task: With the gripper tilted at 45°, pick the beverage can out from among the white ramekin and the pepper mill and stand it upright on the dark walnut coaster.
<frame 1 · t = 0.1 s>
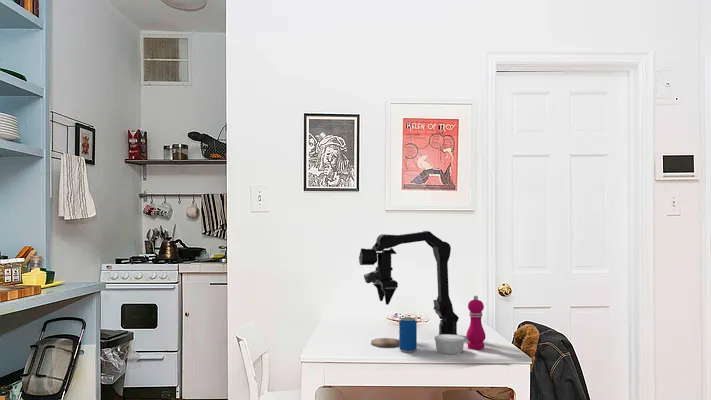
hand: (384, 302, 232), 15 cm above the table, tool pointing down, fingers open, 9 cm apart
beverage can: (407, 351, 211), on the table
ramekin: (449, 352, 211), on the table
walnut coaster: (386, 344, 222), on the table
pepper mill: (475, 348, 216), on the table
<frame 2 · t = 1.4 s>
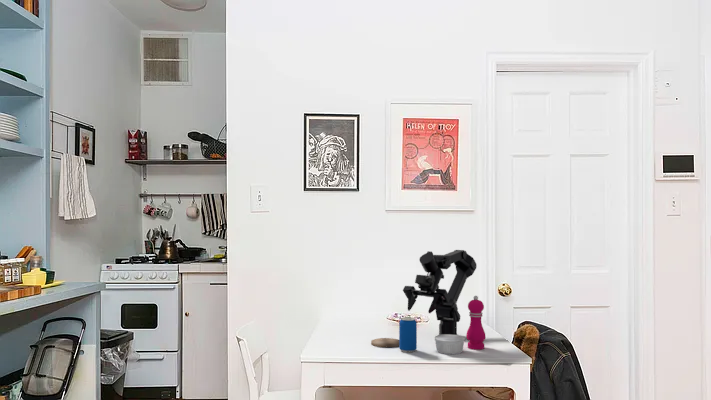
hand: (418, 311, 218), 14 cm above the table, tool tilted 45°, fingers open, 9 cm apart
nothing on the table moved.
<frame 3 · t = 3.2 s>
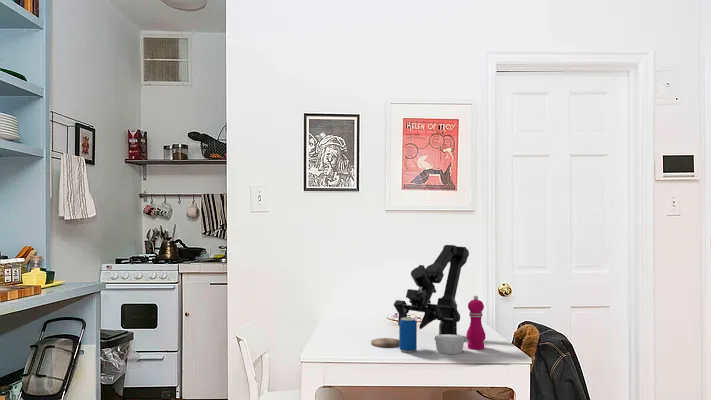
hand: (409, 327, 212), 9 cm above the table, tool tilted 45°, fingers open, 9 cm apart
nothing on the table moved.
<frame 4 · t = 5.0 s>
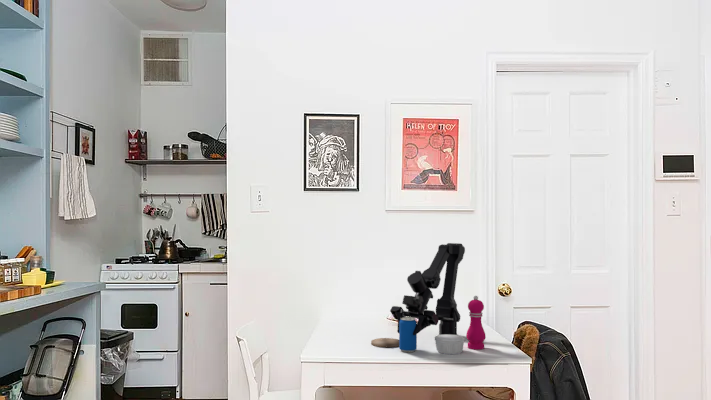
hand: (405, 333, 210), 7 cm above the table, tool tilted 45°, fingers closed on beverage can, 6 cm apart
beverage can: (407, 351, 211), on the table, touching gripper
everything else where it was.
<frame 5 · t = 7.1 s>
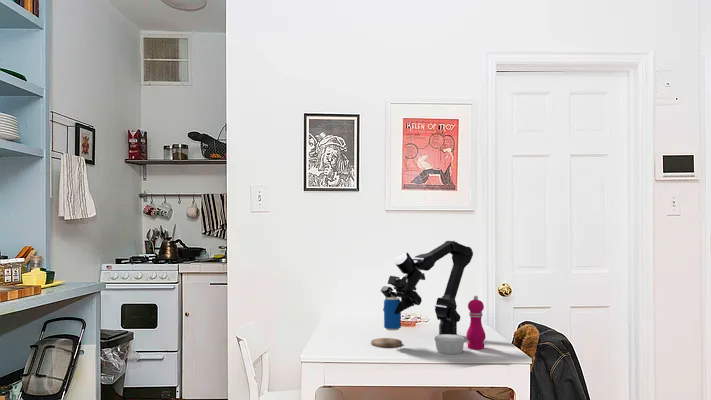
hand: (389, 312, 218), 13 cm above the table, tool tilted 45°, fingers closed on beverage can, 6 cm apart
beverage can: (392, 329, 219), point 6 cm above the table, touching gripper
everything else where it was.
when the fingers open (9 cm above the table, at t = 9.5 s): beverage can drops 1 cm, resting on walnut coaster.
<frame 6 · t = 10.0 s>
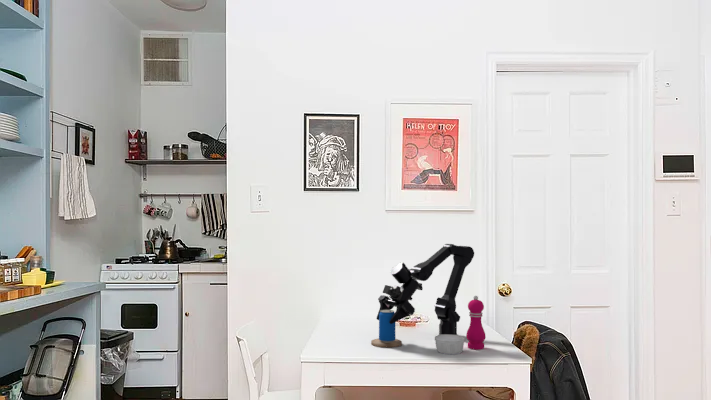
hand: (383, 321, 222), 9 cm above the table, tool tilted 45°, fingers open, 9 cm apart
beverage can: (387, 341, 222), point 1 cm above the table, touching walnut coaster
everything else where it was.
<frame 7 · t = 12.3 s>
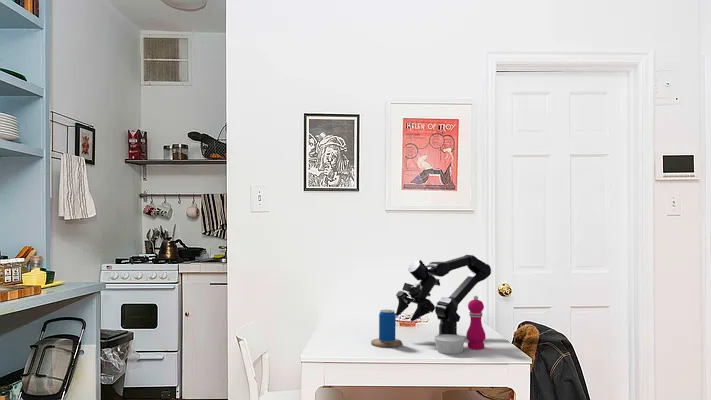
hand: (403, 318, 227), 9 cm above the table, tool tilted 40°, fingers open, 9 cm apart
nothing on the table moved.
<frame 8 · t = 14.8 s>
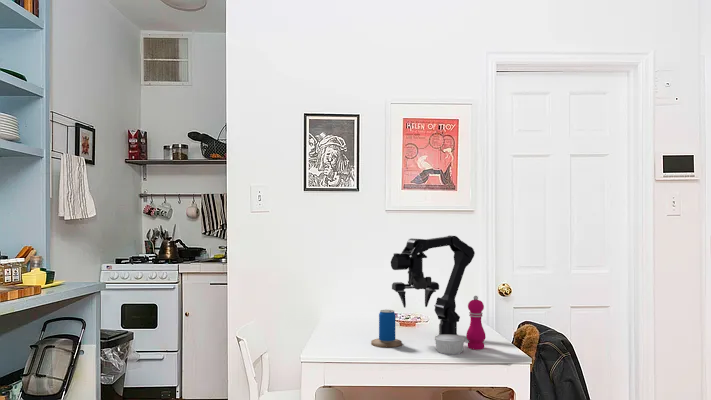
hand: (415, 307, 231), 13 cm above the table, tool pointing down, fingers open, 9 cm apart
nothing on the table moved.
at the end: beverage can 0.3 cm off-centre on the walnut coaster, point 0.8 cm above the walnut coaster's base; beverage can tilted 0°; the gripper is holding nothing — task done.
